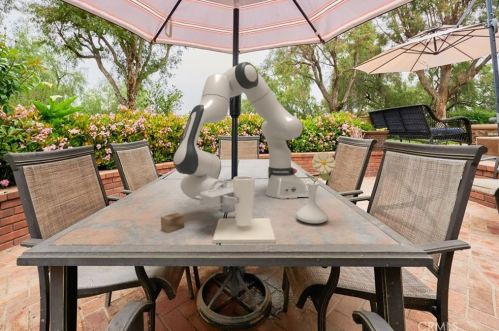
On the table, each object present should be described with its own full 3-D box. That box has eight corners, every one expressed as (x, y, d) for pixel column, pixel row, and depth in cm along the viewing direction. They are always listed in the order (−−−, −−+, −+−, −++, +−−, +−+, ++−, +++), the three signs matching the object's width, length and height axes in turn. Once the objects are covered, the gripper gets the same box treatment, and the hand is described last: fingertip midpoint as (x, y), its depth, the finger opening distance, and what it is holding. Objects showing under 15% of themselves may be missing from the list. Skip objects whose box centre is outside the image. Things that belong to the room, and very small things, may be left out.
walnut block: (177, 225, 86) (176, 212, 86) (184, 228, 84) (183, 214, 83) (161, 230, 82) (160, 217, 81) (168, 233, 79) (167, 219, 79)
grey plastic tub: (235, 208, 106) (235, 196, 105) (235, 212, 100) (235, 200, 99) (221, 208, 106) (221, 196, 105) (220, 212, 100) (219, 200, 99)
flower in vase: (292, 223, 87) (294, 152, 84) (298, 214, 98) (300, 150, 95) (332, 229, 83) (335, 153, 80) (333, 218, 94) (336, 150, 90)
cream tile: (269, 221, 90) (269, 218, 90) (275, 242, 72) (275, 239, 72) (219, 221, 90) (219, 218, 90) (212, 243, 72) (212, 239, 72)
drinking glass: (228, 223, 81) (228, 177, 79) (243, 218, 86) (243, 175, 84) (243, 229, 76) (243, 180, 74) (258, 223, 81) (259, 177, 79)
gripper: (191, 187, 79) (222, 194, 71) (234, 178, 95) (264, 183, 87) (191, 207, 80) (222, 216, 72) (234, 195, 96) (264, 201, 87)
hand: (245, 198), depth 79 cm, fingers closed on drinking glass, 6 cm apart
